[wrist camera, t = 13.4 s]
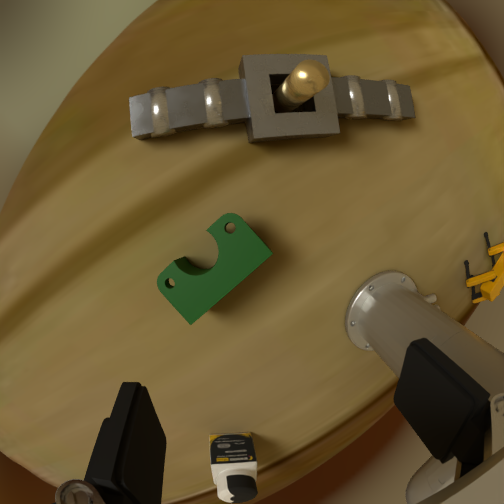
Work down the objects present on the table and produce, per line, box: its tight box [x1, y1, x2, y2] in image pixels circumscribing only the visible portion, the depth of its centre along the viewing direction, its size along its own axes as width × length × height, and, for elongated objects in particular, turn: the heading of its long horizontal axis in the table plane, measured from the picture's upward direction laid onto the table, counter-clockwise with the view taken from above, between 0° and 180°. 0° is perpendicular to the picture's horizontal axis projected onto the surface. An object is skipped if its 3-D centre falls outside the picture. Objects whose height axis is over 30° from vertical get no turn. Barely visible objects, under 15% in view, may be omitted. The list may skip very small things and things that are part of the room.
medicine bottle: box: [209, 432, 258, 503], centre depth 37 cm, size 7×7×12 cm
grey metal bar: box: [129, 54, 415, 143], centre depth 28 cm, size 33×9×4 cm, turn 97°
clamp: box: [157, 213, 273, 325], centre depth 31 cm, size 12×6×9 cm, turn 125°
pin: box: [272, 59, 330, 113], centre depth 25 cm, size 3×3×10 cm
